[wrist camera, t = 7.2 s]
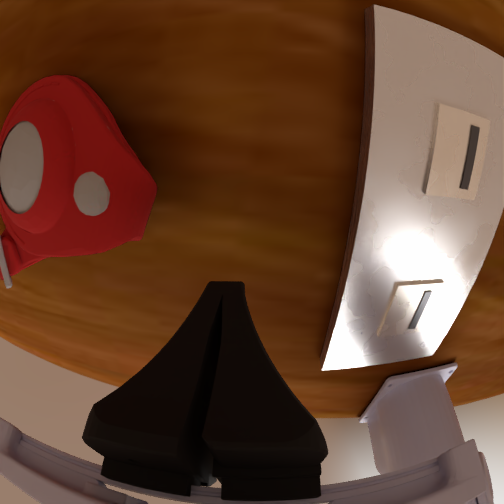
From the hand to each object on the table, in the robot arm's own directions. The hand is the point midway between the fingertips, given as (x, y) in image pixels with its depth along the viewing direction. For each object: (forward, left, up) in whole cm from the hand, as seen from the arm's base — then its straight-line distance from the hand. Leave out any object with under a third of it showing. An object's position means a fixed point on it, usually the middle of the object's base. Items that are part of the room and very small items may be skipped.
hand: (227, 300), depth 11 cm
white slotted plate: (+2, -10, -3) cm, 10 cm away
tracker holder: (+5, +9, -3) cm, 11 cm away
